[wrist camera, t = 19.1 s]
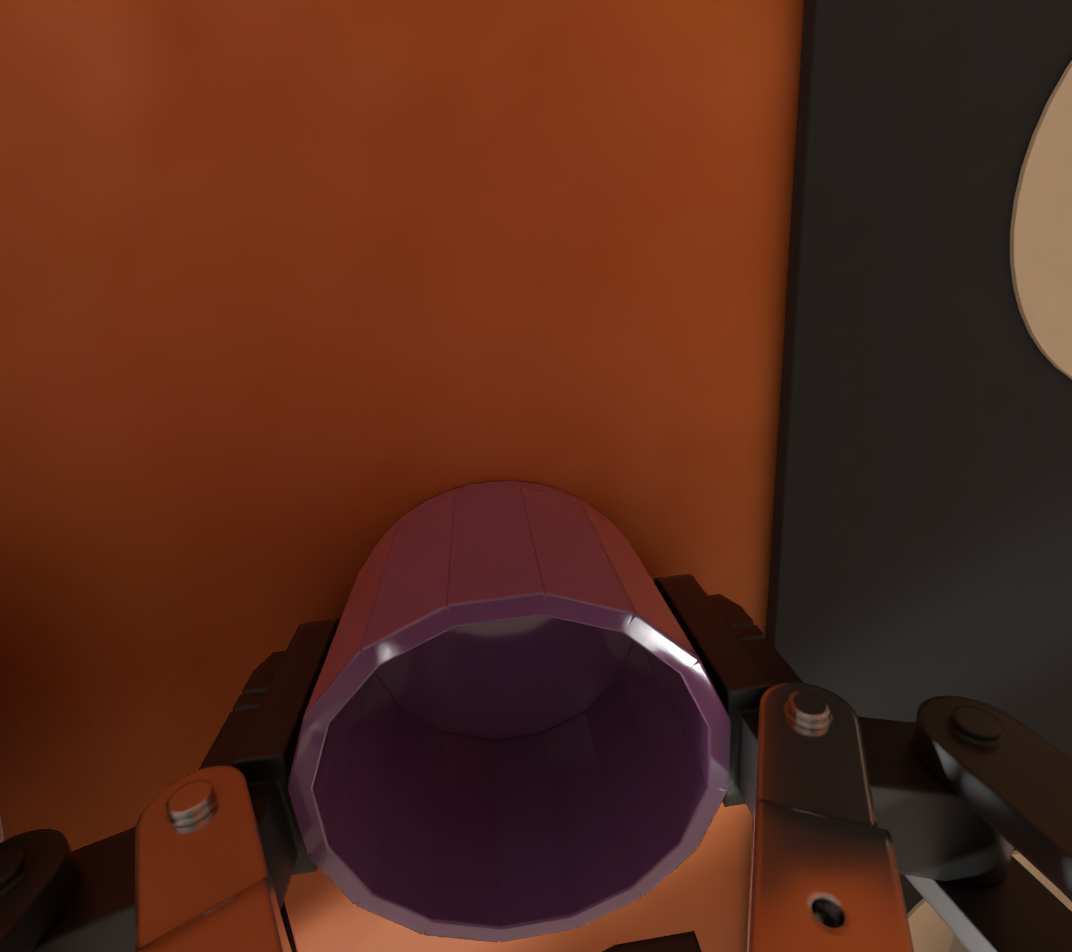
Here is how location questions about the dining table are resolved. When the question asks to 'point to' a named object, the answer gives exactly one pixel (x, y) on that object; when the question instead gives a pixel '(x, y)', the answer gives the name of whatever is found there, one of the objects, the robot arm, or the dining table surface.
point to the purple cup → (506, 723)
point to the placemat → (930, 369)
